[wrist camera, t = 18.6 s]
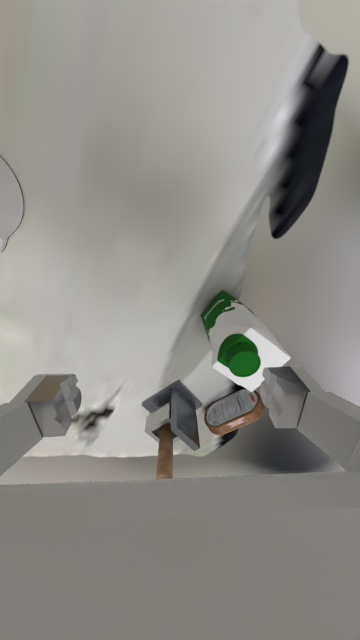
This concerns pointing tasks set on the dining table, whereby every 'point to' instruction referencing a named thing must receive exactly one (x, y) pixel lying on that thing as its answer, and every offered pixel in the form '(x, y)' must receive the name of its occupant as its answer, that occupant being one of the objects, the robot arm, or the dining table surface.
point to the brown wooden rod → (165, 452)
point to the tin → (234, 411)
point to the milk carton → (240, 342)
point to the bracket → (174, 414)
